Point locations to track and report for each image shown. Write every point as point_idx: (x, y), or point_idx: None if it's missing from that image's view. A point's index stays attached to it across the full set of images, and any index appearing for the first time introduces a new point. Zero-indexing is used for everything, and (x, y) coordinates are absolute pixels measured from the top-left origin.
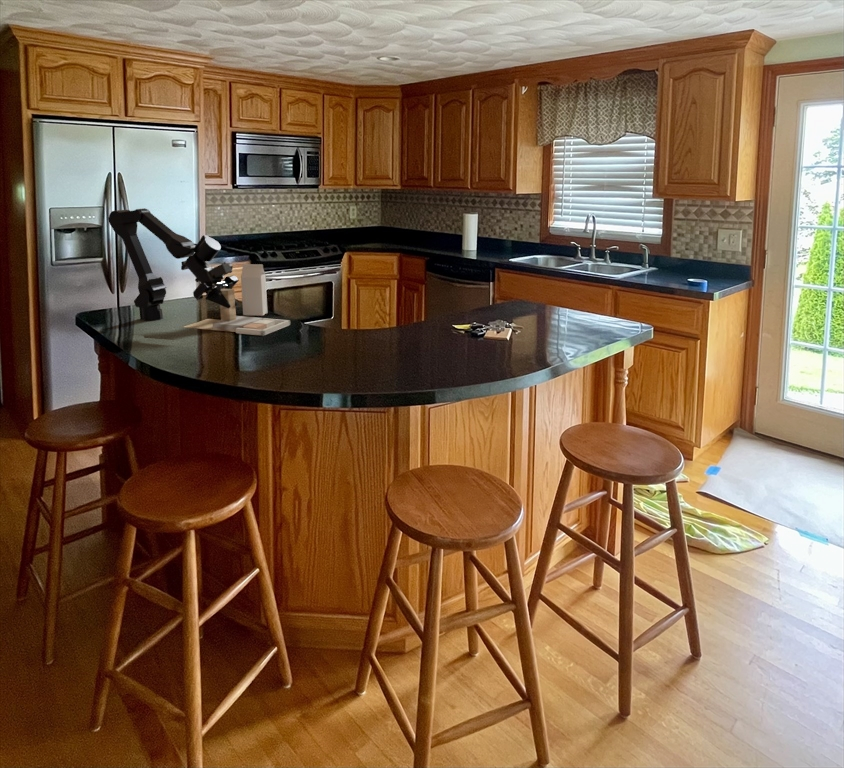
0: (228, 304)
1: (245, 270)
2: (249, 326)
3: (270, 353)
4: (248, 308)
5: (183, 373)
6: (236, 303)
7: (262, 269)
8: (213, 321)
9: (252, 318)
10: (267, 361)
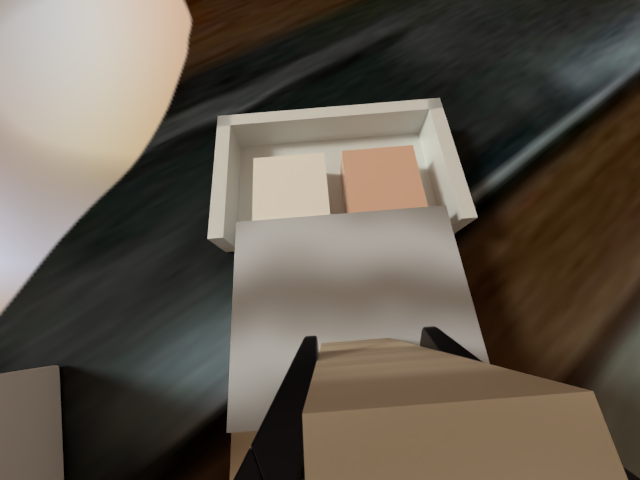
0: (454, 342)
1: None
2: (412, 182)
3: (536, 36)
4: None
5: None
6: (315, 340)
7: None
8: None
9: (266, 263)
10: (599, 5)
